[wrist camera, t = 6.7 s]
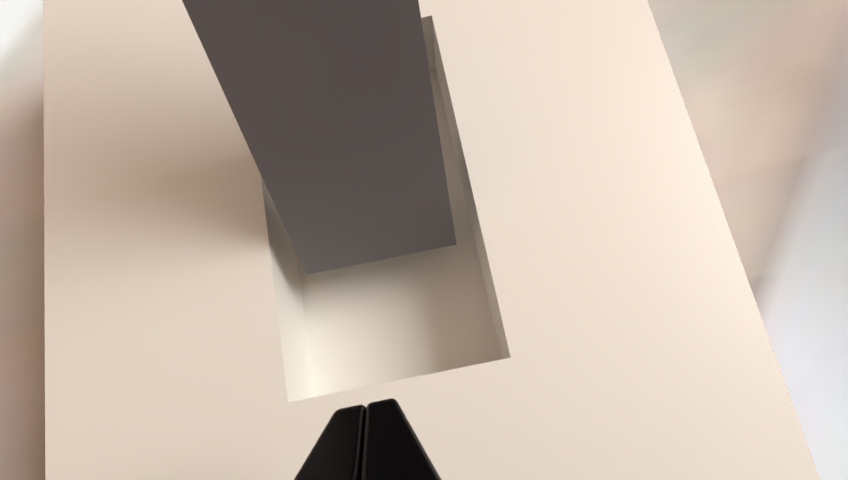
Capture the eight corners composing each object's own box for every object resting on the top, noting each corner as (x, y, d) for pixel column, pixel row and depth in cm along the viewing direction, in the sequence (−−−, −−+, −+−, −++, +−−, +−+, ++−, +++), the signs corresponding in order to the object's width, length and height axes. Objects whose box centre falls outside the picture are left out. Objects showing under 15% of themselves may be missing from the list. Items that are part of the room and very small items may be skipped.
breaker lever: (456, 244, 14) (348, -451, 6) (306, 275, 14) (10, -377, 6) (441, 184, 16) (342, -417, 8) (308, 212, 16) (77, -361, 8)
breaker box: (781, 623, 14) (902, 710, 10) (159, 745, 14) (47, 875, 10) (572, -26, 19) (600, -130, 16) (124, 67, 20) (43, -13, 16)
